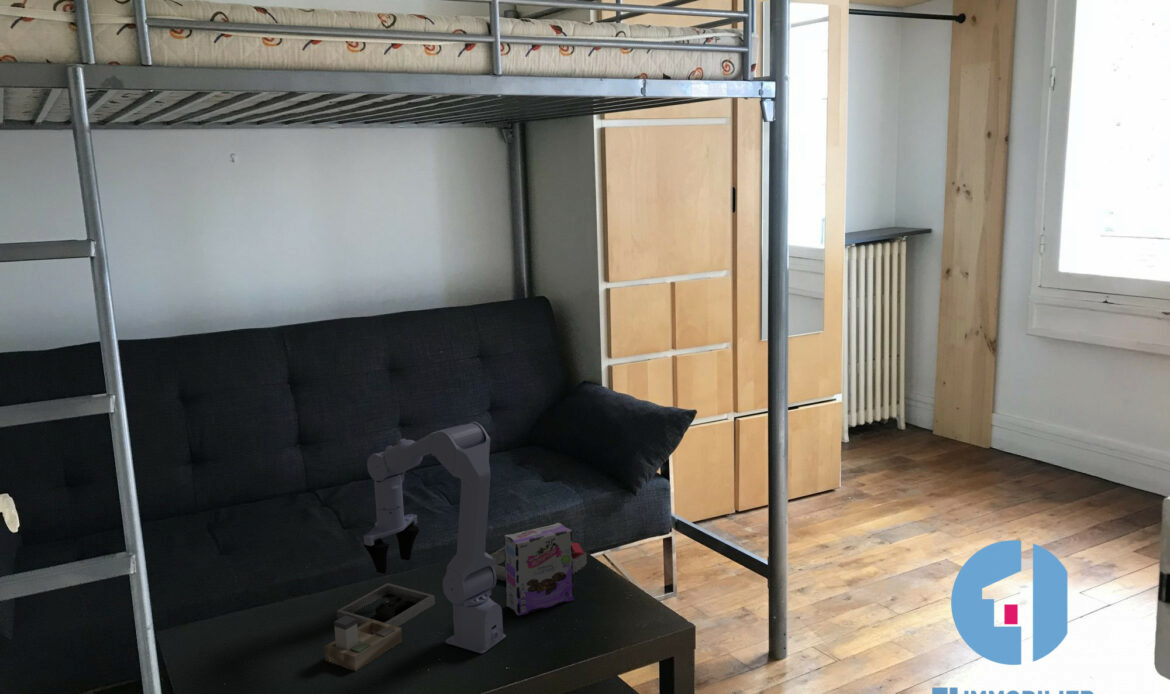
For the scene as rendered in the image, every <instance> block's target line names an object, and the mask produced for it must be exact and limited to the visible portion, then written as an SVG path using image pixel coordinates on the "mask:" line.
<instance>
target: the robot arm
mask: <svg viewBox="0 0 1170 694" xmlns="http://www.w3.org/2000/svg"><path fill="white" fill-rule="evenodd" d="M384 449H385V450H384V451H381V452H378V453H371V454H370V456H368V458H367V462H366V468H367V472H368V474H369V476H370V477H371V479H372V480H373V482H374V485H373V487H374V497H375V499H374V500H375V513H376V522H375V523H374V527H373V528H372V529H371V530H370V531H369V532H368V533H366V534H364V535H363V547H364V548H365V549H366V551H367V552H368V553H369V555H370V557H371V559H372V562H373V565H374V567H375V570H376V572H377V573H380V574H385V573H386V572H387V565H388V563H387V559H388V551H389V547H390V544H389V543H385V542H384V541H383V539H385V538H387V537H389V536H392V535H394V534H395V535H396V538H397V542H398V549H399V556H400V559H401V560H403V561H411V556H412V551H413V548H414V547H413V546H414V543H415V540H416V537H418V536H417V535H418V533H419V532H420V528H419V526H417V524H418V515H417V514H412V513H408V514H406V515H405V511H404V496H403V483H404V481H405V473H406V472H407V471H408V470H411V469H413V468H415V467H417V466H419V465H421V462H422V461H423V458H424V457H425V456H428V455H429V454H431V456H433V457H435V458H436V459H437V461H438V462H439V463H440V464H441V465H442V466H443V467H444V468H445V469H446V470H447V471H448V472H449V474H450V475H452V476H453V477H454V478H458V479H460V481H461V483H460V484H461V485H460V499H459V513H458V514H459V516H458V526H457V527H458V531H457V547H456V553H455V555H454V556H453V557H452V559H451V560H450V561H449V563H448V564H447V566H446V572H445V574H444V576H443V579H442V591H443V593H444V596H445V597H446V598H447V600H448V601H449V603H452V616H453V633H454V634H453V635H451V636H450V637H448V638H447V639H446V640H445V643H446V644H447V645H452V646H454V647H458V648H462V649H464V650H469V651H471V652H475V653H477V654H478V653H479V654H482V655H483V654H484V653H486V652H487V651H489V650H490V649H492V648H493V647H494V646H495V645H497V644H499V643H500V642H501V641H502V640H504V639H505V638H506V637H507V636H506V634H505V633H504V625H503V624H504V622H503V609H502V606H501V605H500V604H499V603H496V602H495V601H494V600H492V599H491V598H490V596H491V595H492V589H494V588H495V586H496V585H497V580H498V579H497V578H496V572H495V568H494V561H495V560H494V559H493V558H492V557H491V556H490V555H491V554H489V553H487V552H486V544H487V543H486V542H487V530H488V529H487V528H488V514H489V501H490V500H489V499H490V490H491V489H490V488H491V466H490V451H491V437H490V436H489V435H488V433H487V431H486V430H485V428H484V427H483V425H481V424H480V423H479V422H477V421H471V422H468V423H467V424H460V425H456V426H451V427H448V428H444V429H443V428H442V429H440V430H437V431H434V432H431V433H429V434H427V435H425V436H424V437H422V438H420V439H418V440H416V441H415V440H413V439H406V438H401V439H398V440H397V441H396V444H395V445H393V446H392V445H389V446H386V447H384Z"/></svg>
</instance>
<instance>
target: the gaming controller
mask: <svg viewBox="0 0 1170 694" xmlns="http://www.w3.org/2000/svg"><path fill="white" fill-rule="evenodd" d="M417 603H419V602H418V601H417V600H415V599H412V598H408V597H402V596H396V595H395V596H393V597H390V598H389V599H388V600H385V601H384V602H380V604H378V605H377V606H376V607H375V614H376V618H377V619H378V618H379V619H378V620H380V619H381V621H382V622H383V623H385V622H387V621H388V620H390V619H392V618H394V617H395V616H396V614H395V612H397V611H399V610H400V609H401V608H402V609H405V610H407V609H409V608H410V607H412V606H414V605H415V604H417Z"/></svg>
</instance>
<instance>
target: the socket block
mask: <svg viewBox="0 0 1170 694" xmlns="http://www.w3.org/2000/svg"><path fill="white" fill-rule="evenodd" d="M370 619H371V620H370V621H368V622H366V623H364V624H363V625H361V626H357V629H358V644H356V645H355V646H353V647H352V648H350V649H349V650H347V651H346V650H343V649H340V648H337V647H336V639H335V640H333V641H332V642H330V643H328V644H327V645H324V647H323V649H324V658H325V659H324V660H325V662H327V661H329V662H328V663H330V662H332V663H331V664H333V663H335V664H337V665H336V666H338V665H340V666H339V667H341V666H342V667H341V668H344V667H345V669H348V670H350V671H353V670H354V672H358V671H359V670H361V669H362V668H363V667H365V666H367V665H368V664H370V663H371V662H373V661H374V659H375V658H376V659H378V658H379V657H381V656H383V655H384V654H386V653H387V652H389V651H390V650H392V649H393V648H395V647H397V646H398V645H399V643H400V644H401V643H403V632H402V627H400V626H398V627H396V626H393V625H390V624H386V623H385V622H384V621H379V620H377V621H376V619H373V618H370ZM397 644H398V645H397ZM396 645H397V646H396ZM394 646H395V647H394ZM391 648H392V649H391ZM389 649H390V650H389ZM388 650H389V651H388ZM386 651H387V652H386ZM385 652H386V653H385ZM383 653H384V654H383ZM380 655H381V656H380ZM377 657H378V658H377ZM376 659H375V660H376ZM372 660H373V661H372ZM369 662H370V663H369ZM335 664H334V665H335ZM366 664H367V665H366ZM364 665H365V666H364ZM361 667H362V668H361ZM358 669H359V670H358Z"/></svg>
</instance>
